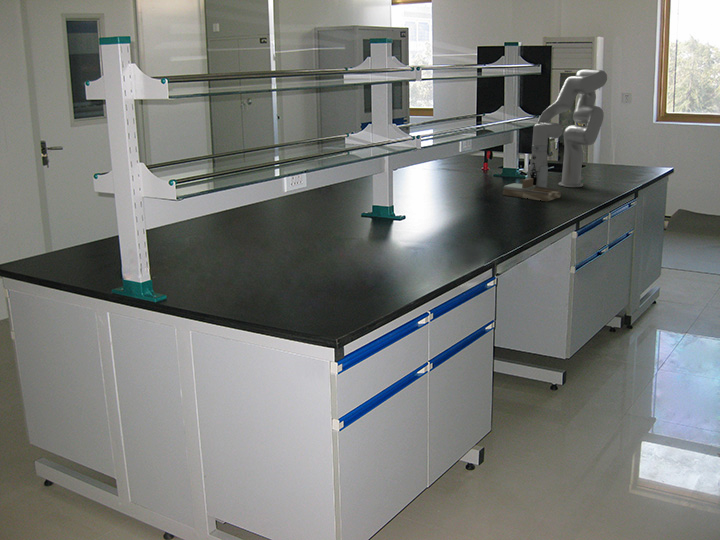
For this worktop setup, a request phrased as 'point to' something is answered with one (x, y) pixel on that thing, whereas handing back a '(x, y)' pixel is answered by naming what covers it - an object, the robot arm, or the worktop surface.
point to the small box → (540, 176)
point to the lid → (523, 184)
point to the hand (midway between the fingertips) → (536, 183)
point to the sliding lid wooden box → (533, 193)
